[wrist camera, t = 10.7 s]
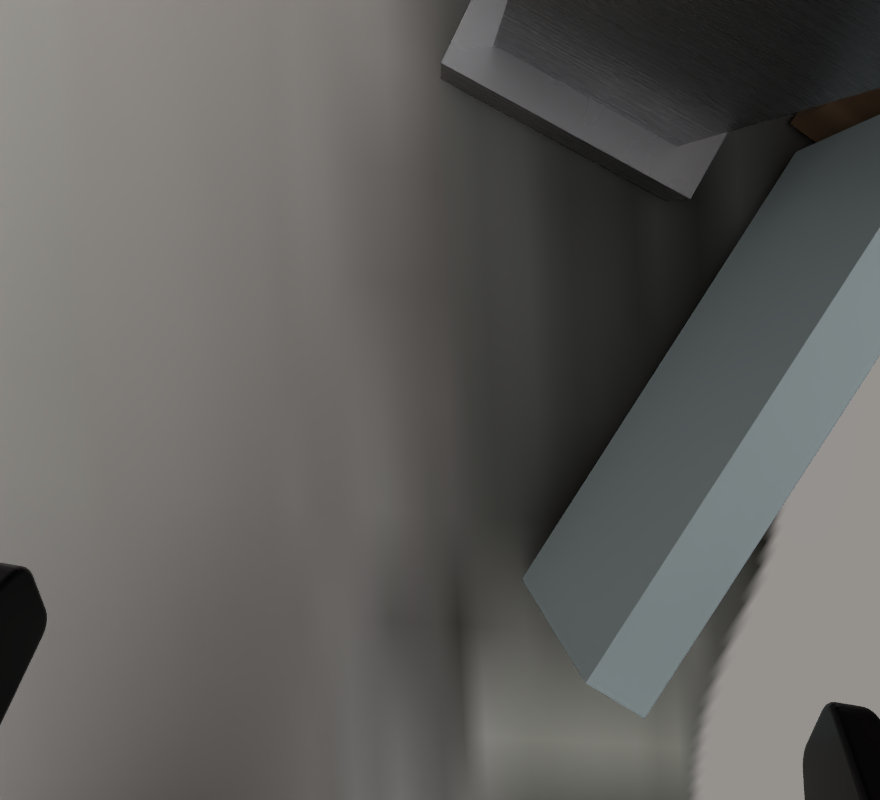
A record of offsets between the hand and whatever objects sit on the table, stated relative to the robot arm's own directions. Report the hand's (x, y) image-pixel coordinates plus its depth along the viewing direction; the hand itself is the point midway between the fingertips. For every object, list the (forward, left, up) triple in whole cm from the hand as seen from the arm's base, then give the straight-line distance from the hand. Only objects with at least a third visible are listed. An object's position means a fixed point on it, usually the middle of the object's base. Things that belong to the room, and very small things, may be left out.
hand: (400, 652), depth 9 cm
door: (+6, -5, -10) cm, 13 cm away
